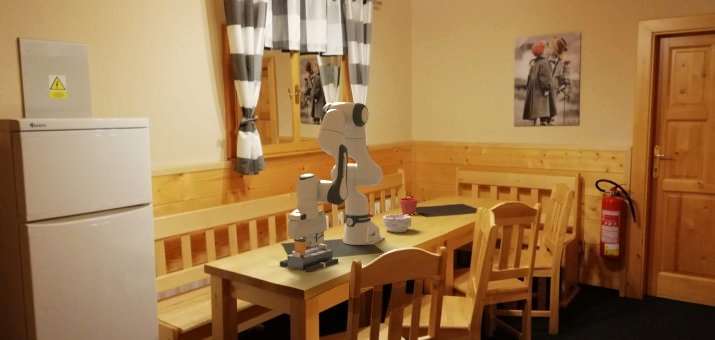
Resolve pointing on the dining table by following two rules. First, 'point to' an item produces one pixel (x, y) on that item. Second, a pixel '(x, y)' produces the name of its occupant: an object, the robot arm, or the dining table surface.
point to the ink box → (316, 240)
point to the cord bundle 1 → (284, 263)
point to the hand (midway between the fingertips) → (308, 245)
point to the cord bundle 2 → (321, 265)
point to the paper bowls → (397, 222)
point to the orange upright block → (300, 245)
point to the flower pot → (408, 205)
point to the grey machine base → (309, 257)
